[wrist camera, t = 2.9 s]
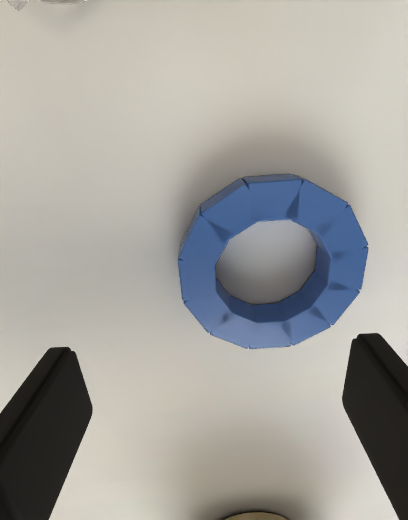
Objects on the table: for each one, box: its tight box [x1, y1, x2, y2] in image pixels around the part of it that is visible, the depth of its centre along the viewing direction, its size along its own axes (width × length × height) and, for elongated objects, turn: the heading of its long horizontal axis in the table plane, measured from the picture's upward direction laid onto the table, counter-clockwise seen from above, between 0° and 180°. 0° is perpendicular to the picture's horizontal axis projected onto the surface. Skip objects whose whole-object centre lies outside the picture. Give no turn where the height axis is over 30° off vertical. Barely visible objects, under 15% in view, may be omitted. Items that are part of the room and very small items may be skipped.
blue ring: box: [178, 174, 368, 349], centre depth 17 cm, size 10×10×2 cm
